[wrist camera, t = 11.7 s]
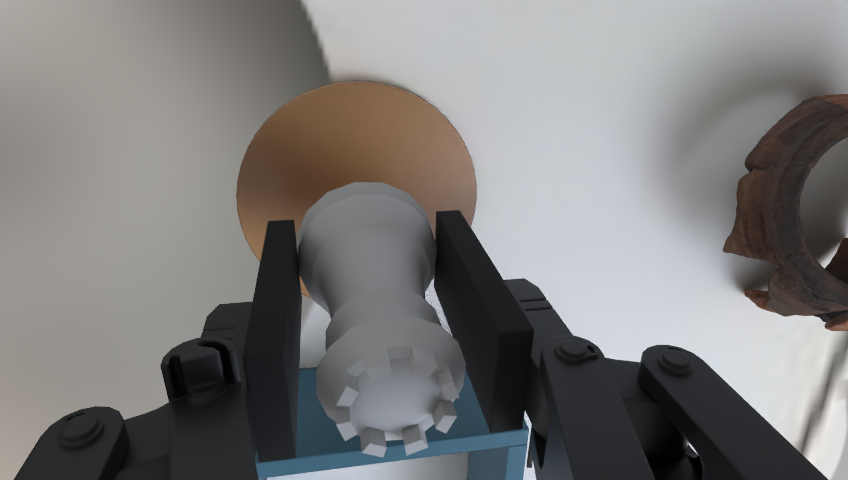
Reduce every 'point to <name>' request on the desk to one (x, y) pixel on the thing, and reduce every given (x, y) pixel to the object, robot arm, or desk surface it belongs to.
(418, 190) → the coaster
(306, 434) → the tote
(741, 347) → the desk surface
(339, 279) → the rook chess piece
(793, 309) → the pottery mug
